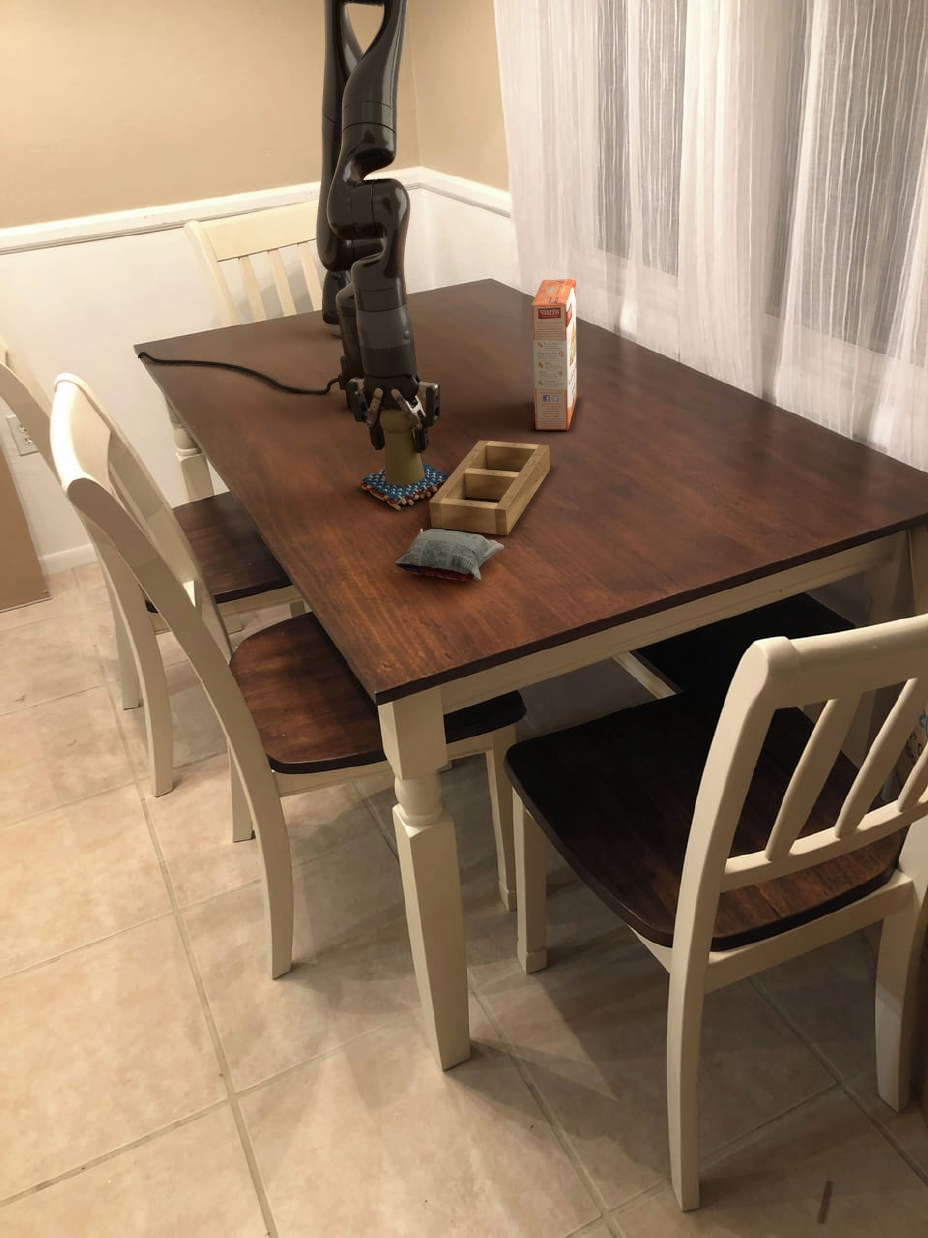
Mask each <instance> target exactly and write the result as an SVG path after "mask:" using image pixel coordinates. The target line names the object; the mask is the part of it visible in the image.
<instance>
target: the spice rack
mask: <svg viewBox="0 0 928 1238" xmlns="http://www.w3.org/2000/svg"><path fill="white" fill-rule="evenodd" d="M550 457H551V456H550V445H549V444H536V443H522V442H521V443H520V442H508V441H494V440H481V439H480V440H478V441H477V443H476V444H475V445H474V446H473V447H472V449H471V450H470V451H469V452H468V453H467V454H466V456H465V457H464V459H462V461H461V462H460V463H459V464H458V465H457V467H456V468H455V469H454V470H453V472H452V473H451V474H450V476H448V477H449V478H448V479H447V481H446V482H445V483H444V484H443V485H442V486H440V487H441V488H440V489H439V490H438V491H436V492H435V494H434V495H433V496H432V498H431V499H430V500H429V502H428V507H429V513H430V514H429V517H430V523H431V524H430V525H431V528H432V529H443V530H451V531H461V532H472V533H482V534H490V535H491V534H492V535H499V536H509V534H510V532H511V531H512V529H513V528H514V527H515V525H516V523H517V522H518V520H519V519H520V517H521V516H522V514H523V512H524V511H525V509H526V508H527V506H528V505H529V503H530V501H531V500H532V498H533V497H534V495H535V494H536V492H537V491H538V489H539V487H540V486H541V484H542V483H543V481H544V480H545V478H546V476H547V474H548V473H549V472H550V470H551V458H550ZM466 498H470V499H471V498H472V499H481V500H482V499H483V500H493V501H498V502H490V501H489V502H488V501H479V500H468V499H466Z"/></svg>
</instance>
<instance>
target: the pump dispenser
mask: <svg viewBox="0 0 928 1238" xmlns="http://www.w3.org/2000/svg"><path fill="white" fill-rule="evenodd" d="M350 283H352V277H351V270H350V271H345V272H330V271H328V270H327V269H326V272H325V276H324V280H323V285H322V293H321V295H322V296H321V316H322V321H323V322H324V323H325V326H326V328H327V329H328V331H329V332H330V333H331V334H332V335H334V336H336V337H340V338H341V332H340V325H339V319H338V313H337V307H336V296H337V294H338V293H339V292H340V291H341V290H342V289H344V288H345V287H346V286H348V285H349V284H350Z"/></svg>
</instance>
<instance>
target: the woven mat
mask: <svg viewBox="0 0 928 1238" xmlns="http://www.w3.org/2000/svg"><path fill="white" fill-rule="evenodd" d="M421 461H422V465H423V469H424V473H425V477H424V478H423V479H422V480H421V481H419V482H417V483H415V484H411V485H405V486H397V485H392V484H389V483H387V482H386V480H385V469H380V471H379V472H377V473H376V472H375V473H373V472H372V473H371V474H370V475H368V476H364V477H363V478H362V479H361V481H362V482H361V483H360V486H361V489H363V490H365V491H366V492H370V494H372V495H373V496H374V497H376V498H377V499H379V500H380V501H382V502H386V503H387V504H388V505H390V506H391V507H393V508H394V509H396V510H397V511H400V510H401V509H402V507H401V506H400V505H403V506H405V505H407V504H409V505H410V506H413V505H414V504H415V502H414V501H418V500H419V498H420V499H421V500H423V499H425V497H429V498H430V497H431V496H432V493H437V492H438V490H439V489H440V488H441V487H442V485H443V484H444V483H445V482H446V481H447V479H448V478H449V477H450V476H448V473H442V471H441V470H436V467H434V466H433V467H430V465H429V464H428V463H426V464H424V461H423V460H421Z"/></svg>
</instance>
